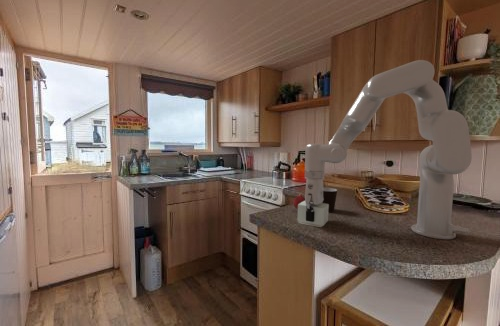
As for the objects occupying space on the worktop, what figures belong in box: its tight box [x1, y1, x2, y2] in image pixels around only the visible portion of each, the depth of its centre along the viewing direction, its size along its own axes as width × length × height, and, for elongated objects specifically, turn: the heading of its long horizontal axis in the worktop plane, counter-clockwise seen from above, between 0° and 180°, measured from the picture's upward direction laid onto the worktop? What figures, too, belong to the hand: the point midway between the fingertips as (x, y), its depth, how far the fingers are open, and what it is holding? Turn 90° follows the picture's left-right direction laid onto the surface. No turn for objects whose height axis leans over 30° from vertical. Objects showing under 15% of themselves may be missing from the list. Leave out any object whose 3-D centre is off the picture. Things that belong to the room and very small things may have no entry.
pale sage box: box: [296, 201, 329, 227], centre depth 97 cm, size 10×8×7 cm
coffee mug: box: [321, 187, 338, 213], centre depth 116 cm, size 12×9×10 cm
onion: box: [292, 193, 305, 210], centre depth 113 cm, size 6×6×8 cm
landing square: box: [297, 221, 323, 228], centre depth 97 cm, size 9×9×1 cm
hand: (313, 218), depth 97 cm, fingers closed on pale sage box, 7 cm apart
